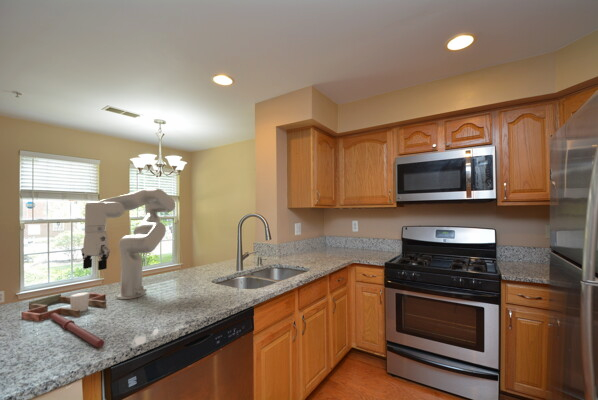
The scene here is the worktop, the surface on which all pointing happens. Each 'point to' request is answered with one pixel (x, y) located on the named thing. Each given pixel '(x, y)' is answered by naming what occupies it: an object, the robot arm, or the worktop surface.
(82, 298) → the white cylinder
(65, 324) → the red collared rod
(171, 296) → the worktop surface
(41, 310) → the box
